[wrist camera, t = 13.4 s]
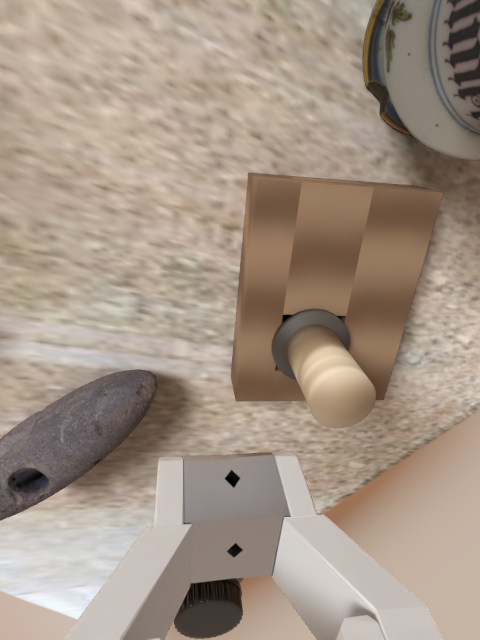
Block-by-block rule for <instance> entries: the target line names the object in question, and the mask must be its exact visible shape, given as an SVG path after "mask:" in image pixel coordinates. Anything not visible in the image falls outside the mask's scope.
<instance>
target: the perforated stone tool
mask: <svg viewBox="0 0 480 640" xmlns="http://www.w3.org/2000/svg"><path fill="white" fill-rule="evenodd" d="M156 388H157V382H156V376H155V375H154V374H153V373H151V372H149V371H145V370H129V371H122V372H117V373H113V374H110V375H107V376H104V377H101V378H99V379H97V380H94V381H92V382H90V383H88V384H86V385H84V386H82V387H80V388H78V389H77V390H75V391H73V392H71V393H69V394H67V395H66V396H64V397H62V398H61V399H59V400H57V401H55V402H54V403H52V404H50V405H48V406H47V407H46V408H45V409H44V410H43V411H40V412H37V413H35V414H34V415H32V416H30V417H29V418H27V419H26V420H24V421H23V422H21V423H20V424H19V425H17V426H16V427H15V428H13V429H12V430H11V431H9V432H8V433H7V434H6V435H4V436H3V437H2V438H1V439H0V520H3V519H5V518H8V517H10V516H13V515H15V514H17V513H20V512H22V511H24V510H26V509H28V508H30V507H32V506H34V505H36V504H38V503H40V502H42V501H43V500H45V499H47V498H48V497H50V496H52V495H54V494H55V493H57V492H59V491H60V490H62V489H63V488H65V487H66V486H68V485H69V484H71V483H72V482H74V481H75V480H77V479H78V478H79V477H81V476H82V475H84V474H85V473H86V472H88V471H89V470H91V469H92V468H93V467H94V466H96V464H98V463H99V462H100V461H102V460H103V459H104V458H105V457H106V456H107V455H108V454H110V453H111V452H112V451H113V450H114V449H115V448H116V447H117V446H118V445H119V444H120V443H121V442H122V441H123V440H124V439H125V438H126V437H127V436H128V435H129V434H130V433H131V432H132V430H133V429H134V428H135V427H136V426H137V425H138V424H139V422H140V421H141V420H142V419H143V417H144V416H145V414H146V412H147V411H148V410H149V407H150V405H151V403H152V401H153V398H154V396H155V393H156Z"/></svg>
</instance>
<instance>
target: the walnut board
mask: <svg viewBox="0 0 480 640" xmlns="http://www.w3.org/2000/svg"><path fill="white" fill-rule="evenodd" d="M442 196H443V193H442V192H438V191H434V190H430V189H426V188H422V187H418V186H412V185H399V184H387V183H374V182H361V181H348V180H335V179H322V178H309V177H296V176H283V175H270V174H258V173H248V185H247V196H246V207H245V219H244V230H243V242H242V253H241V265H240V276H239V288H238V299H237V310H236V322H235V333H234V345H233V356H232V368H231V379H232V384H233V389H234V394H235V399H236V401H306V399H305V397H304V394H303V392H302V390H301V388H300V386H299V383H298V381H297V380H294V379H291V378H289V377H287V376H286V375H284V374H283V373H282V372H281V371H280V370H279V369H278V367H277V366H276V363H275V361H274V359H273V356H272V349H271V347H272V340H273V337H274V334H275V332H276V330H277V329H278V327H279V326H280V325H281V324H282V318H283V315H293V314H295V313H297V312H300V311H303V310H307V309H322V310H326V311H329V312H331V313H333V314H335V315H336V316H337V317H338V318H339V319H340V320H341V321H342V322H343V323H344V325H345V326H346V328H347V330H348V332H349V336H350V347H349V351H348V352H349V353H350V355H351V356H352V357H353V359H354V360H355V361H356V363H357V364H358V365H359V367H360V368H361V369H362V371H363V372H364V373H365V375H366V376H367V377H368V379H369V380H370V381H371V383H372V384H373V386H374V388H375V391H376V399H375V400H384V397H385V393H386V390H387V387H388V383H389V380H390V376H391V373H392V369H393V366H394V362H395V359H396V355H397V352H398V349H399V345H400V342H401V338H402V335H403V331H404V328H405V324H406V321H407V317H408V314H409V310H410V307H411V304H412V300H413V297H414V293H415V290H416V286H417V283H418V279H419V276H420V272H421V269H422V265H423V262H424V259H425V255H426V252H427V248H428V245H429V241H430V238H431V234H432V231H433V227H434V224H435V220H436V217H437V214H438V210H439V207H440V203H441V200H442Z"/></svg>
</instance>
